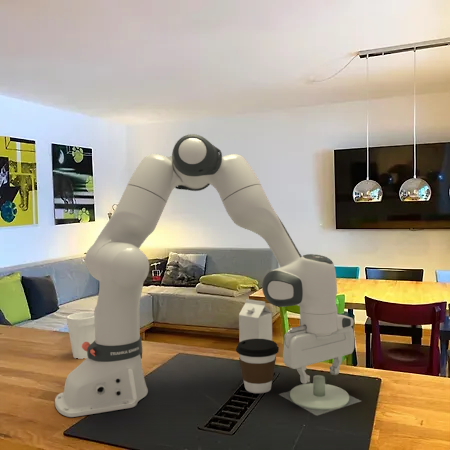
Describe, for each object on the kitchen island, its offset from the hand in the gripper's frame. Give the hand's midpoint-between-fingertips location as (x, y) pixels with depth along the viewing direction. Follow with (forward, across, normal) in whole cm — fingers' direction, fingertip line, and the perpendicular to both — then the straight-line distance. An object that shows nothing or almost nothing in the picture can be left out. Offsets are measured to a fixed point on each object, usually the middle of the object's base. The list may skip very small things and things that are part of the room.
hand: (320, 378), depth 114 cm
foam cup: (+5, -40, +67) cm, 78 cm away
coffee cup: (+5, -10, +13) cm, 17 cm away
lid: (+4, -1, 0) cm, 5 cm away
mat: (+5, -1, 0) cm, 5 cm away
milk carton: (+5, +2, +30) cm, 30 cm away
